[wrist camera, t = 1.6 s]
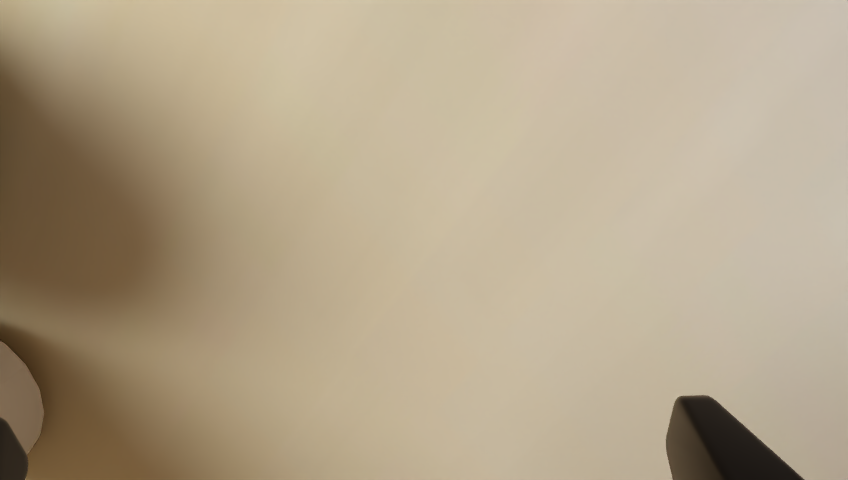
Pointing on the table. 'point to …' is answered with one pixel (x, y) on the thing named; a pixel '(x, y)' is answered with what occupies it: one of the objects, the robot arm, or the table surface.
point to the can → (20, 398)
